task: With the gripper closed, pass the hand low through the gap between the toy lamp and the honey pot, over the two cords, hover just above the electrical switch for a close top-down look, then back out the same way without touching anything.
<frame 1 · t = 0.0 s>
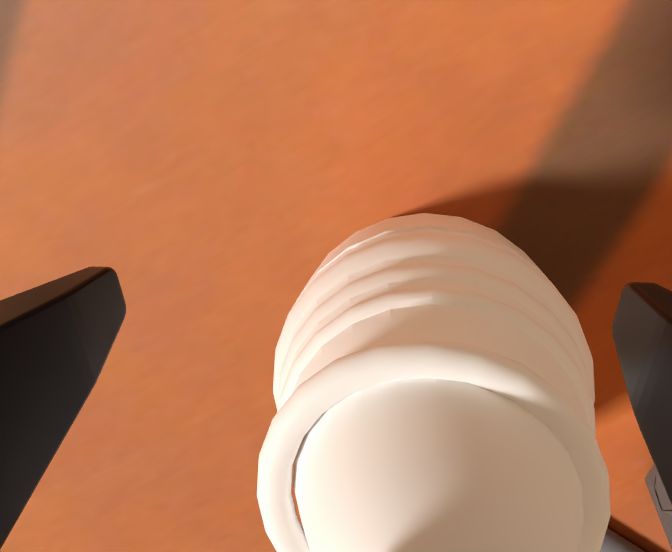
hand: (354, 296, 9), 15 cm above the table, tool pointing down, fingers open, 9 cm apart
honey pot: (423, 339, 26), on the table
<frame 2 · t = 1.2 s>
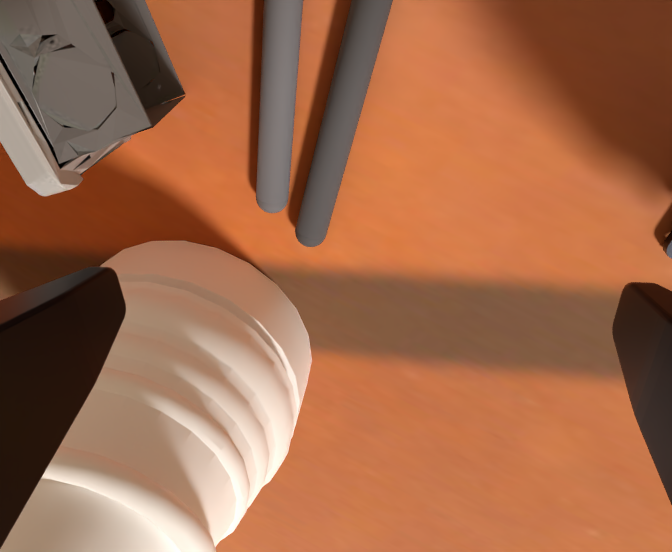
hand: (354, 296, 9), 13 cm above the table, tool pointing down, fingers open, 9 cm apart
cord 1: (358, 56, 20), on the table
honey pot: (197, 342, 29), on the table
cord 2: (286, 19, 20), on the table
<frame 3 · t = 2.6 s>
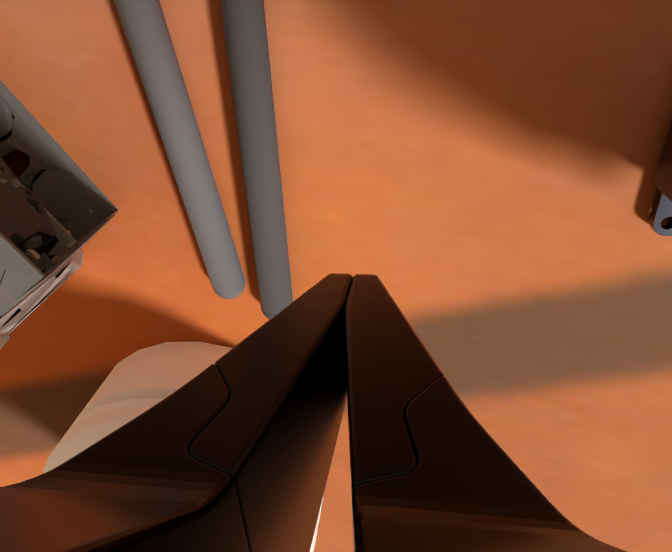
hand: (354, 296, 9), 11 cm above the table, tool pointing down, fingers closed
cord 1: (261, 127, 20), on the table
honey pot: (215, 432, 28), on the table
electrical switch: (32, 142, 21), on the table
cord 2: (182, 115, 20), on the table
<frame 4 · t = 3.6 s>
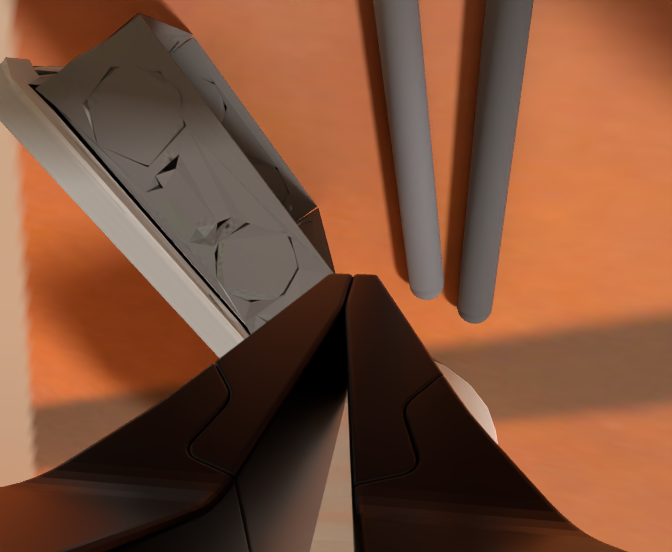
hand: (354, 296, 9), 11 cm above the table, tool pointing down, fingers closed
cord 1: (492, 120, 19), on the table
honey pot: (369, 437, 28), on the table
electrical switch: (237, 135, 20), on the table
cord 2: (408, 107, 19), on the table
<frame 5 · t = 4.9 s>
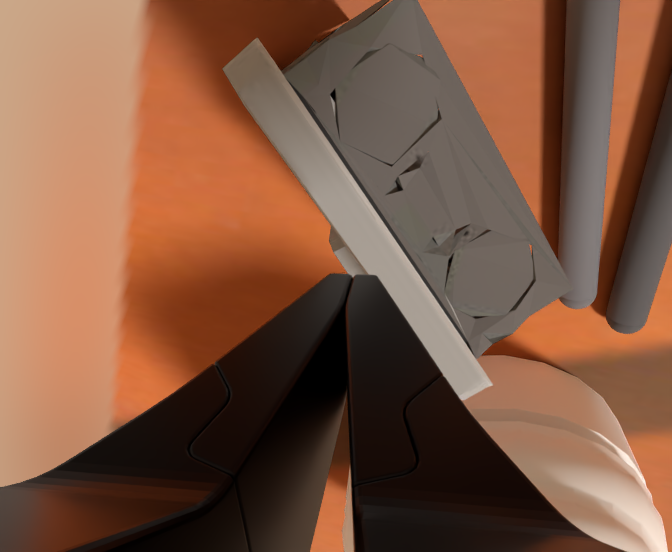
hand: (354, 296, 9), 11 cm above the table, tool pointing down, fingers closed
honey pot: (481, 452, 26), on the table
electrical switch: (382, 131, 18), on the table
cord 2: (581, 100, 17), on the table
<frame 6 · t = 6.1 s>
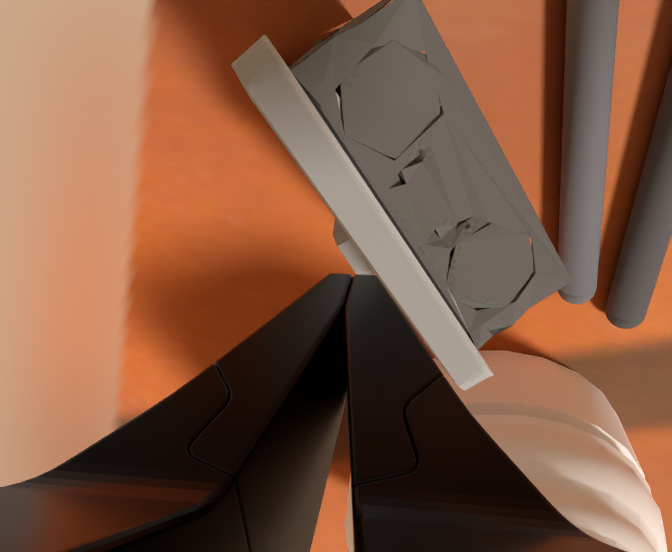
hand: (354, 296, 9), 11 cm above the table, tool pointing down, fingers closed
honey pot: (482, 447, 26), on the table
electrical switch: (385, 128, 19), on the table
cord 2: (580, 97, 17), on the table
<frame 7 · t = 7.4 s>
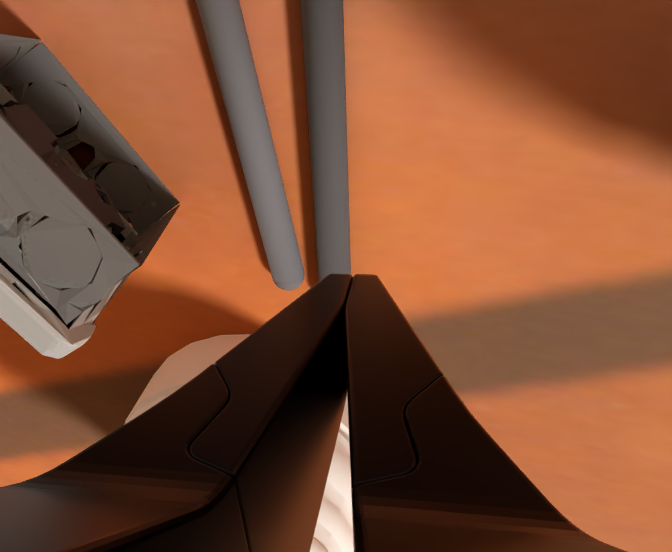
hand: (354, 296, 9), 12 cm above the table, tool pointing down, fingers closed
cord 1: (329, 119, 20), on the table
honey pot: (262, 425, 29), on the table
electrical switch: (97, 134, 21), on the table
cord 2: (250, 107, 20), on the table
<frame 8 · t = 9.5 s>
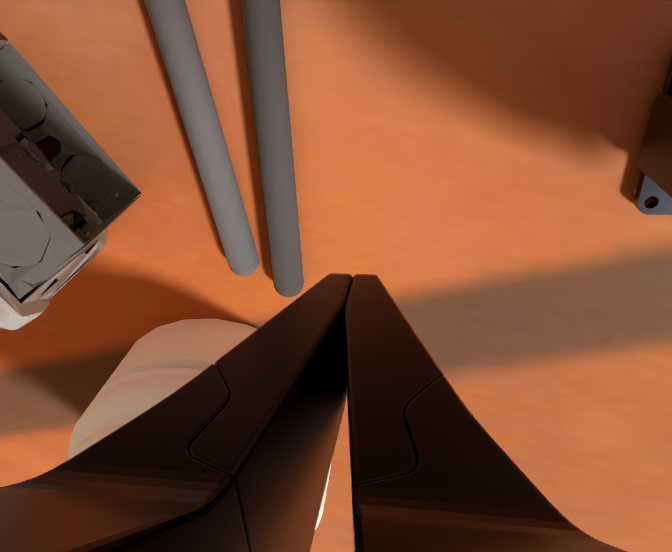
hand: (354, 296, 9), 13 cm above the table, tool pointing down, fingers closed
cord 1: (276, 115, 21), on the table
honey pot: (228, 406, 30), on the table
electrical switch: (63, 129, 23), on the table
cord 2: (203, 103, 21), on the table
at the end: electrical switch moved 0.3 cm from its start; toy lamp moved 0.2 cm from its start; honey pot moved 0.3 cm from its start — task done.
